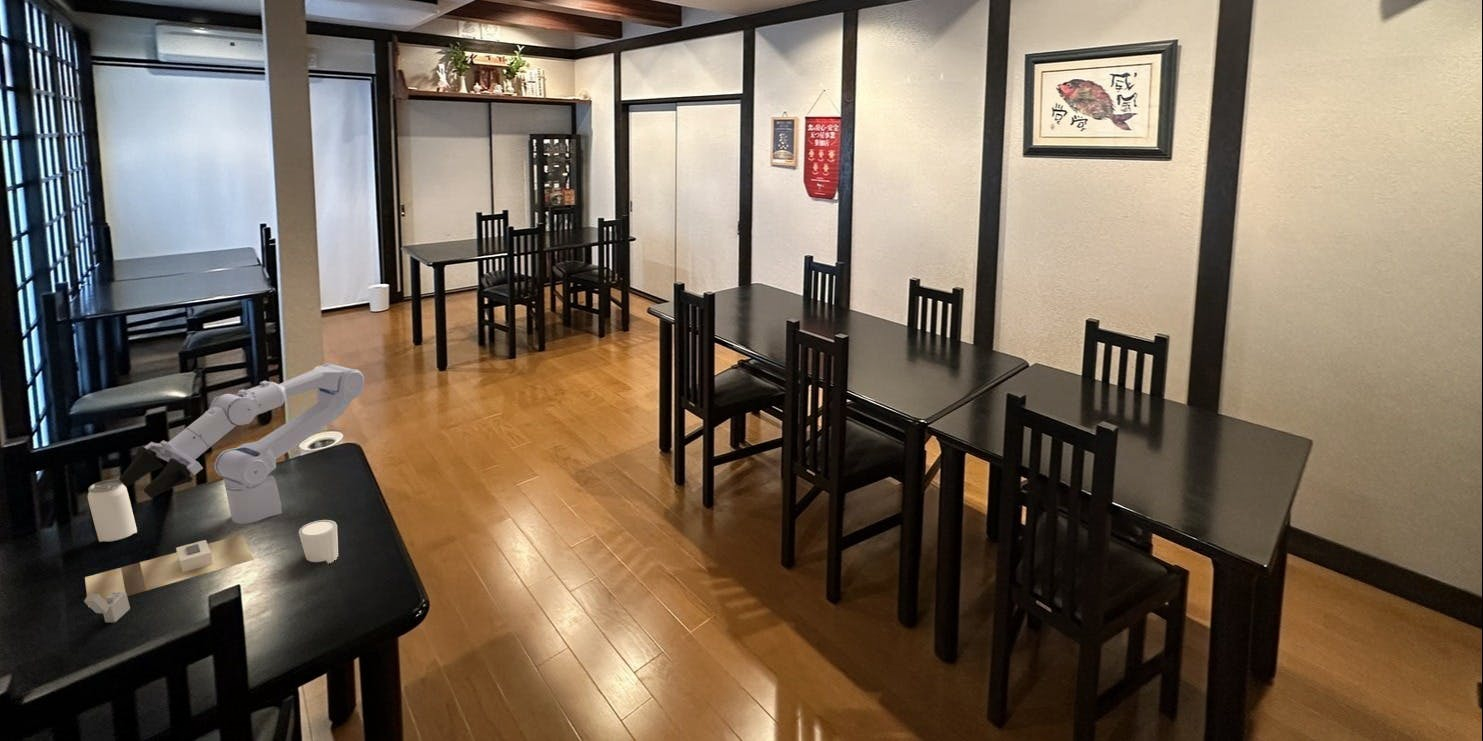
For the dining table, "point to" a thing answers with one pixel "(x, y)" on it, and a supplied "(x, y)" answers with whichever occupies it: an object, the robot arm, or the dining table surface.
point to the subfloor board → (166, 570)
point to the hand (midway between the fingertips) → (134, 488)
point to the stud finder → (194, 555)
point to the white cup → (320, 541)
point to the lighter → (109, 605)
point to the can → (111, 510)
